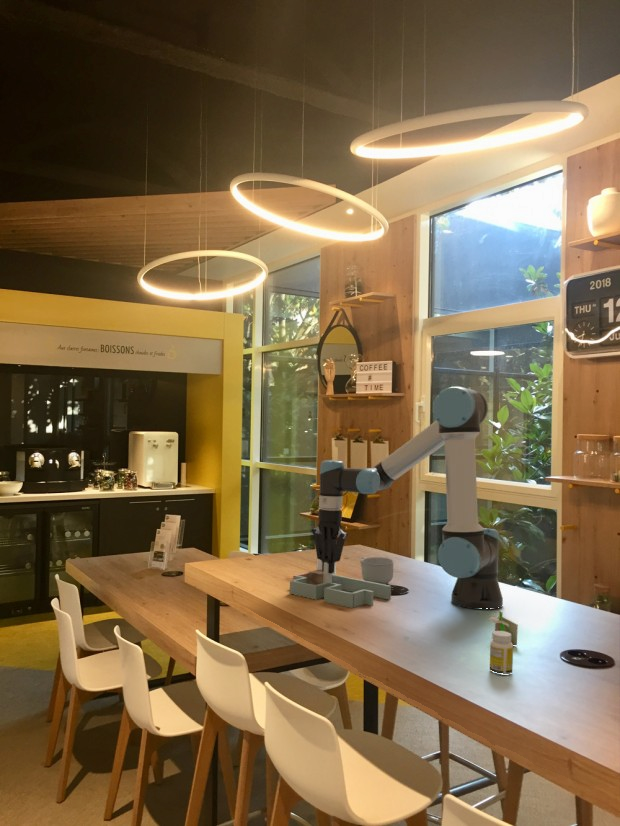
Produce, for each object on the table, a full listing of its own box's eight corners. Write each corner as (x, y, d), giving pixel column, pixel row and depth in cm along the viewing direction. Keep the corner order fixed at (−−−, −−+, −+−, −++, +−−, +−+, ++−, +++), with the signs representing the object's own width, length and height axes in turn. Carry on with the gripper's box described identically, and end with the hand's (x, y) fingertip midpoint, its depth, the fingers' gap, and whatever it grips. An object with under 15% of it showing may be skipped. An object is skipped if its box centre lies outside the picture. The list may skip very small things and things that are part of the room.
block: (330, 587, 225) (330, 572, 225) (320, 590, 221) (321, 574, 221) (318, 584, 228) (318, 569, 228) (308, 587, 224) (309, 571, 224)
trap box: (390, 599, 212) (391, 585, 212) (359, 609, 198) (359, 595, 199) (313, 582, 230) (313, 570, 230) (279, 591, 216) (280, 578, 216)
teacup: (398, 586, 230) (399, 562, 230) (369, 588, 226) (370, 563, 226) (379, 577, 243) (380, 554, 243) (351, 579, 239) (351, 555, 239)
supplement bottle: (508, 668, 154) (509, 630, 154) (515, 676, 149) (516, 637, 149) (486, 668, 153) (488, 629, 154) (493, 675, 149) (494, 636, 149)
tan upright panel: (502, 649, 168) (503, 616, 169) (488, 641, 175) (489, 608, 175) (516, 648, 169) (517, 615, 170) (502, 640, 176) (503, 608, 176)
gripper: (307, 507, 224) (304, 581, 224) (339, 511, 216) (336, 588, 215) (321, 506, 230) (318, 577, 229) (353, 510, 222) (351, 584, 221)
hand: (327, 582), depth 222 cm, fingers closed
